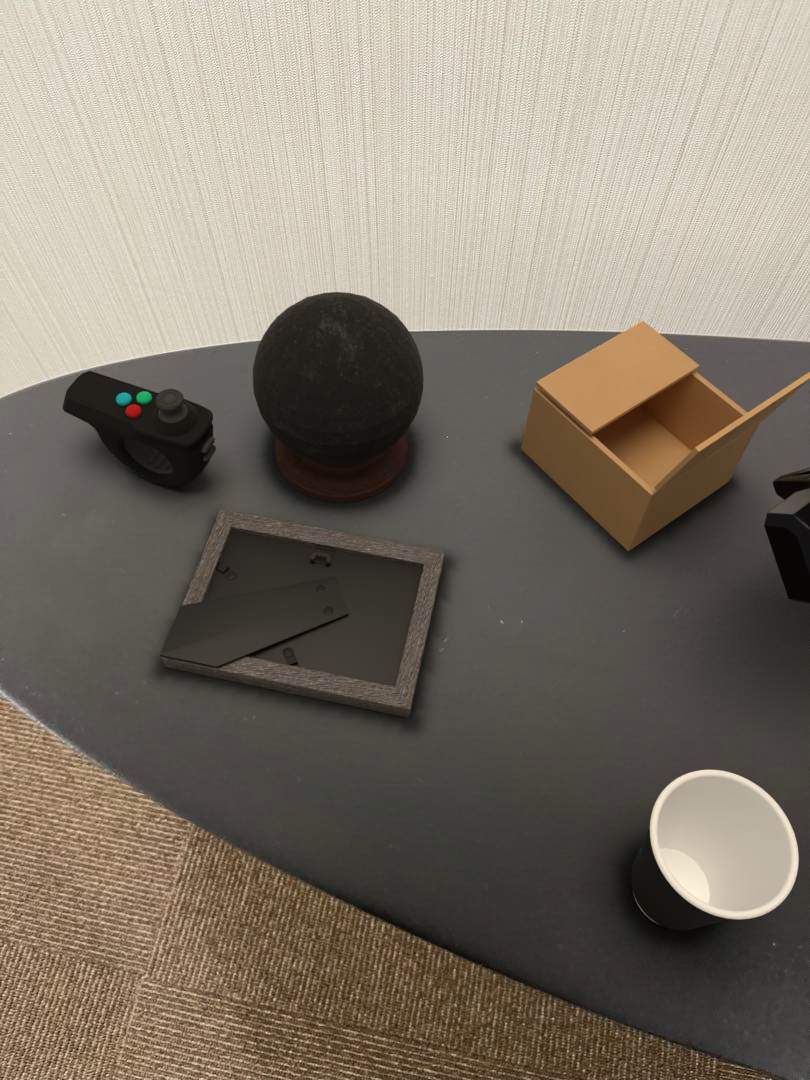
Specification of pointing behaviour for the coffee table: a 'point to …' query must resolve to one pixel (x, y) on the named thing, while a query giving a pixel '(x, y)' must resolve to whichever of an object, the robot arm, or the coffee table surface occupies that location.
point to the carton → (631, 432)
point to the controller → (145, 427)
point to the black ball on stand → (338, 394)
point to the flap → (732, 432)
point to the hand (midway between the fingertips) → (777, 485)
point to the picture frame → (308, 612)
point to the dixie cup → (714, 853)
